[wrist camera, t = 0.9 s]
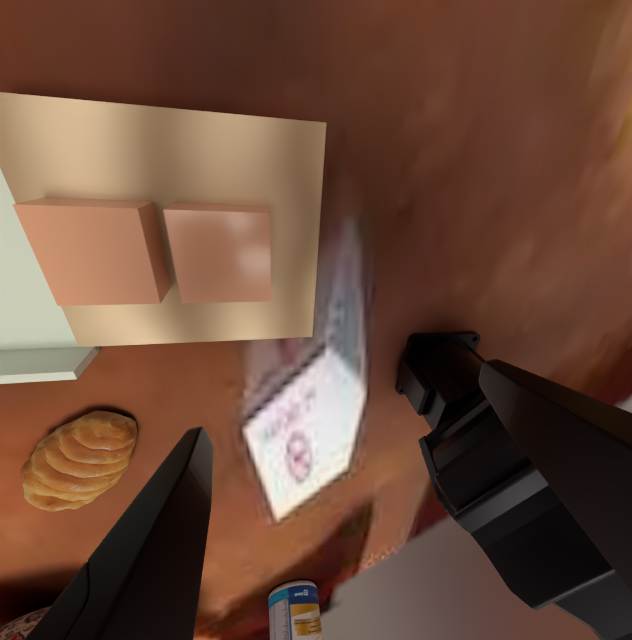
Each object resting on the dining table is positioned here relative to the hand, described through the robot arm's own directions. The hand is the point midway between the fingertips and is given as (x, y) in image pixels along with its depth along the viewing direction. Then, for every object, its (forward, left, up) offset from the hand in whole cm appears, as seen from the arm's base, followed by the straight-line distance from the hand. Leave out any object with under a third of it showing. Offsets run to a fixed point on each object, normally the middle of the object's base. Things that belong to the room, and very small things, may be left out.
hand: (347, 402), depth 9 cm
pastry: (+18, +16, -13) cm, 27 cm away
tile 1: (+4, -2, -10) cm, 11 cm away
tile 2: (+10, -2, -10) cm, 14 cm away
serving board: (+6, -2, -12) cm, 14 cm away
